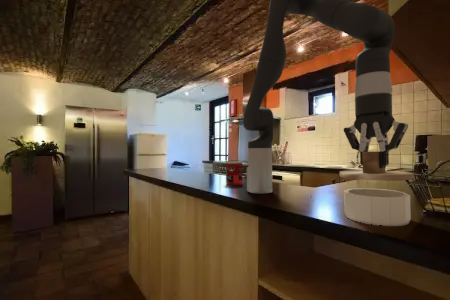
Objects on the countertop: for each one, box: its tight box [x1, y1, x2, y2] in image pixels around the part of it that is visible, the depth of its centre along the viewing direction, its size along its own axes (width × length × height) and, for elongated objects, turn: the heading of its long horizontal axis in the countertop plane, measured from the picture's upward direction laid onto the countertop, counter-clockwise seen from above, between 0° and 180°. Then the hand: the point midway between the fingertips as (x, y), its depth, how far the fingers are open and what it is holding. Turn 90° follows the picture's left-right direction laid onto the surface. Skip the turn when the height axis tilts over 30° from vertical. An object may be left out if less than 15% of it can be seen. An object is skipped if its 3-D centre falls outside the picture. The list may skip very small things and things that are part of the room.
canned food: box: [225, 161, 244, 186], centre depth 121 cm, size 8×8×11 cm
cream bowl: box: [343, 187, 412, 227], centre depth 59 cm, size 13×13×6 cm
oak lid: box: [339, 150, 415, 182], centre depth 59 cm, size 15×15×6 cm
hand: (374, 167), depth 59 cm, fingers closed on oak lid, 3 cm apart
